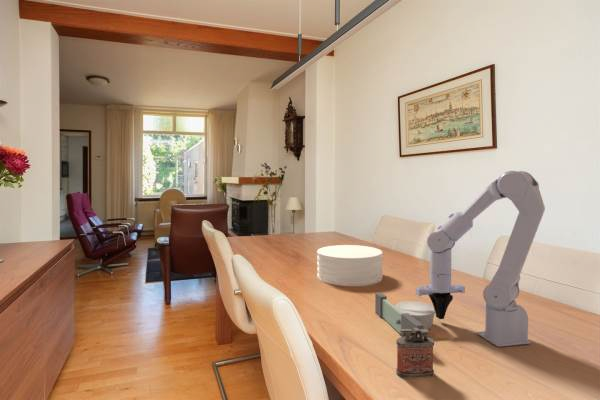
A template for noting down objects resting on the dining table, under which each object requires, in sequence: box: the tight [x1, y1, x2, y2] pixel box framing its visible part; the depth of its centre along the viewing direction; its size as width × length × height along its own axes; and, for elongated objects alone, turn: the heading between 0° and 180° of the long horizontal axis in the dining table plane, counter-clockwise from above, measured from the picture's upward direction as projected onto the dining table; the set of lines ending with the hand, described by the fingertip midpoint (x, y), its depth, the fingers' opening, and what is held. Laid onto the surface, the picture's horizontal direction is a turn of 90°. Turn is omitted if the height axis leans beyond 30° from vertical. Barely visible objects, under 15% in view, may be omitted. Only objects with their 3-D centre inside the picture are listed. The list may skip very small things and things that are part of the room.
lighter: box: [395, 327, 435, 379], centre depth 77 cm, size 8×3×10 cm, turn 92°
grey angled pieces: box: [374, 292, 424, 338], centre depth 100 cm, size 2×26×6 cm, turn 10°
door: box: [382, 299, 403, 334], centre depth 102 cm, size 2×13×6 cm, turn 10°
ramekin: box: [394, 300, 436, 331], centre depth 103 cm, size 11×11×5 cm
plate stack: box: [316, 244, 383, 287], centre depth 155 cm, size 28×28×12 cm
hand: (440, 317), depth 104 cm, fingers closed
